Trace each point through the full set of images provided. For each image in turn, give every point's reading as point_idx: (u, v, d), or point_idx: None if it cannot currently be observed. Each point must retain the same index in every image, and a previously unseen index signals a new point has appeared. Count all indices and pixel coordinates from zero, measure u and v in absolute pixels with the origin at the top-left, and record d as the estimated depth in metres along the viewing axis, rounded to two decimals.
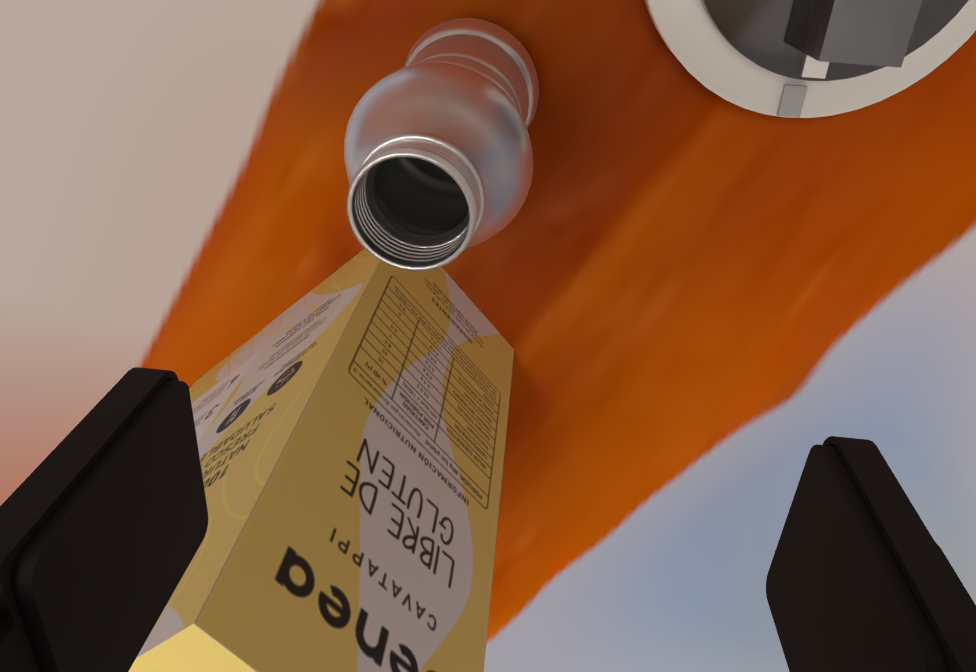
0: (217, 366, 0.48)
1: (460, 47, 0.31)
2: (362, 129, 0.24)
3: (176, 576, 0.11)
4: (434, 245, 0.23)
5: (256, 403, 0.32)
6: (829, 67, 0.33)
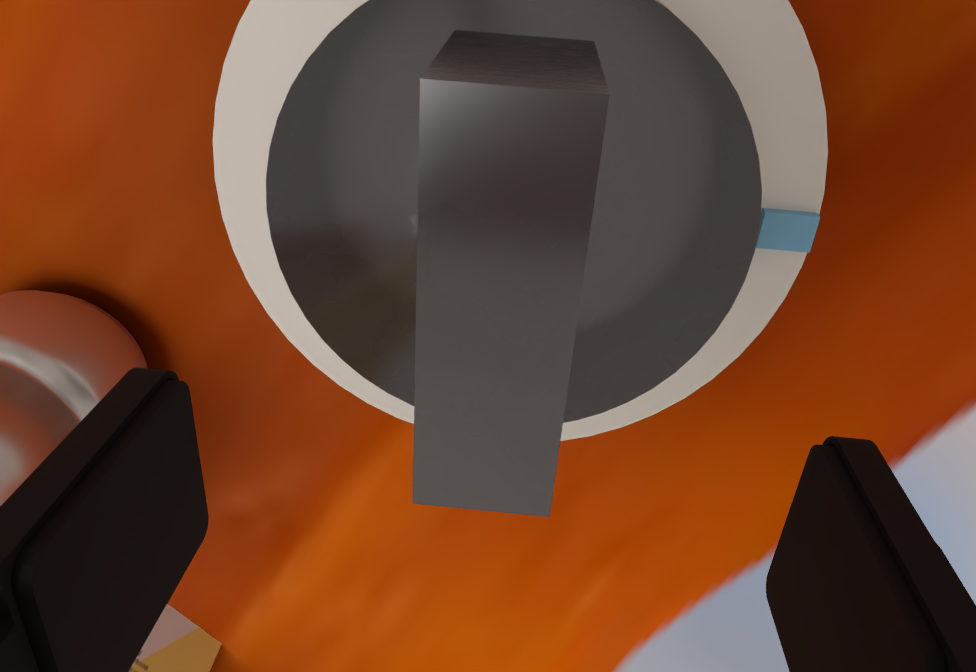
0: None
1: None
2: None
3: (176, 576, 0.11)
4: None
5: None
6: None
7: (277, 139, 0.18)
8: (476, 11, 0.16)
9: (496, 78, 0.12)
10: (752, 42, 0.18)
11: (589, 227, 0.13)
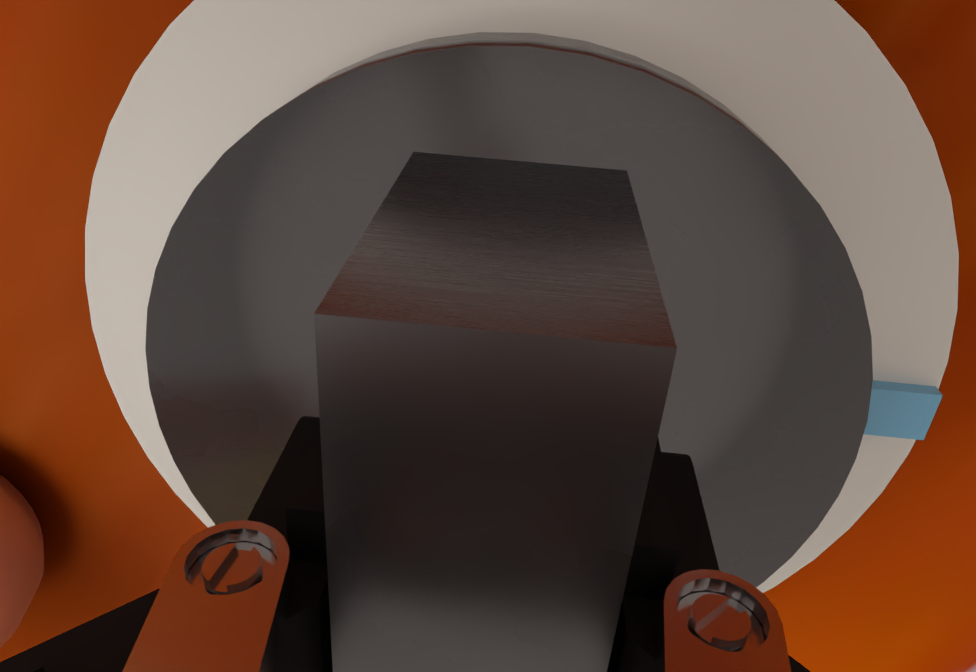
0: None
1: None
2: None
3: None
4: None
5: None
6: None
7: (158, 297, 0.12)
8: (445, 125, 0.10)
9: (462, 302, 0.07)
10: (856, 160, 0.12)
11: (631, 550, 0.07)
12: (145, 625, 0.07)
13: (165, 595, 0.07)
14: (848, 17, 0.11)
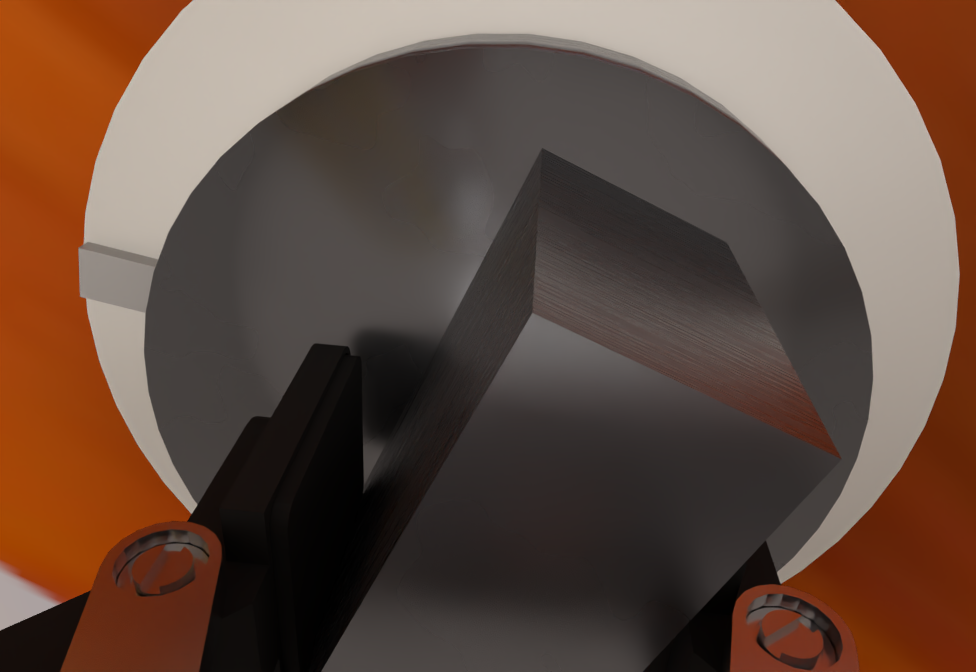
0: None
1: None
2: None
3: (347, 536, 0.12)
4: None
5: None
6: None
7: (208, 186, 0.11)
8: (584, 136, 0.10)
9: (653, 345, 0.07)
10: None
11: (693, 614, 0.08)
12: (74, 634, 0.07)
13: (95, 602, 0.07)
14: None
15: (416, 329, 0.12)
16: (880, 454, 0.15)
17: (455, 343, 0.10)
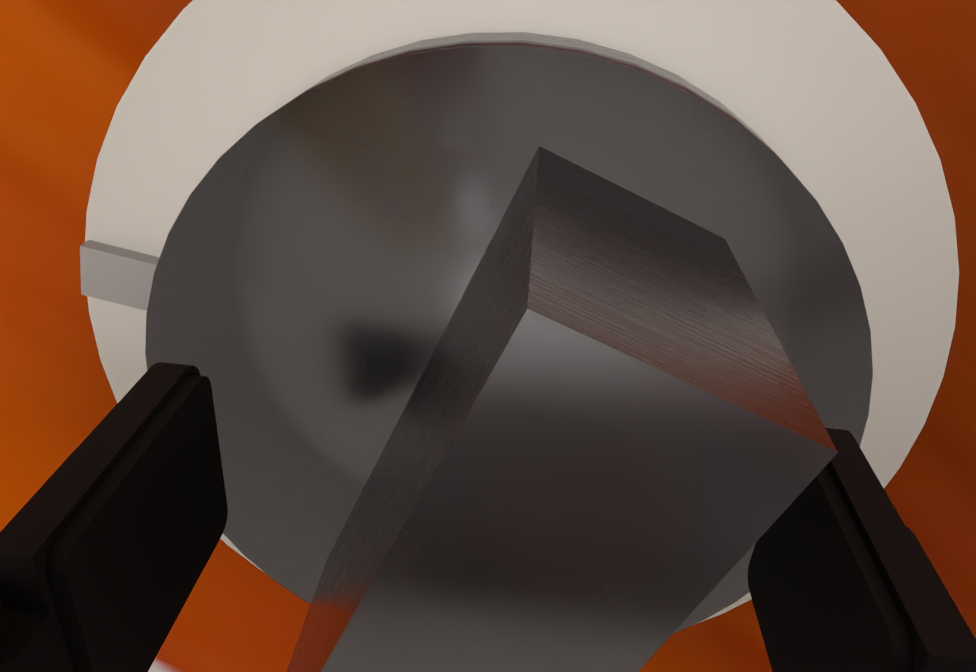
0: None
1: None
2: None
3: (198, 568, 0.11)
4: None
5: None
6: None
7: (207, 187, 0.11)
8: (581, 134, 0.10)
9: (649, 340, 0.07)
10: None
11: (691, 609, 0.08)
12: None
13: None
14: (734, 606, 0.17)
15: (416, 327, 0.12)
16: (879, 453, 0.15)
17: (454, 341, 0.10)
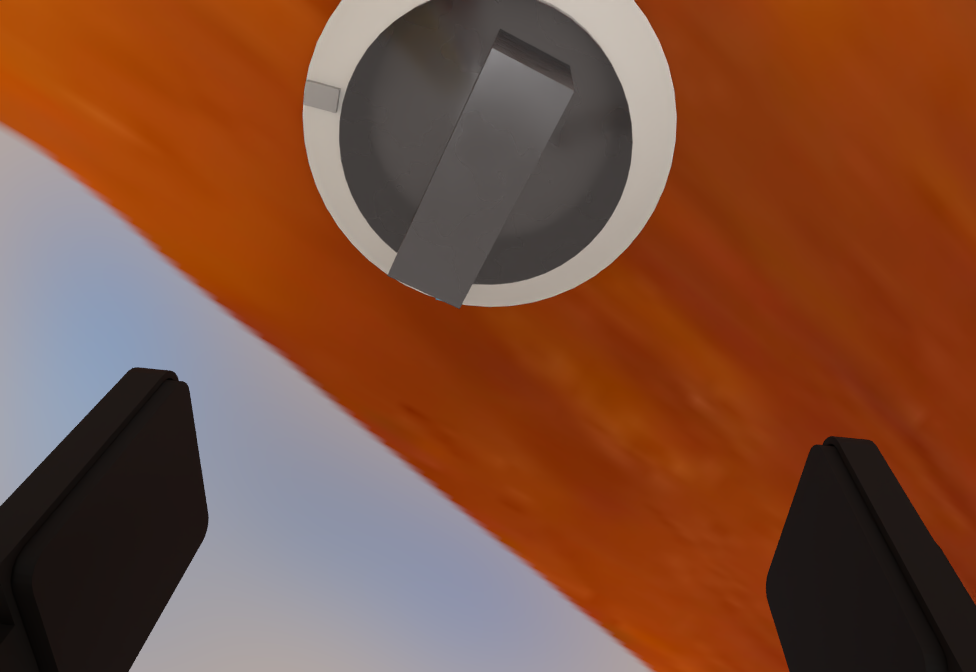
0: None
1: None
2: None
3: (176, 576, 0.11)
4: None
5: None
6: None
7: (374, 46, 0.29)
8: (515, 23, 0.28)
9: (525, 62, 0.25)
10: (551, 274, 0.35)
11: (541, 151, 0.26)
12: None
13: None
14: (598, 272, 0.35)
15: (452, 106, 0.30)
16: (654, 181, 0.33)
17: (469, 96, 0.28)
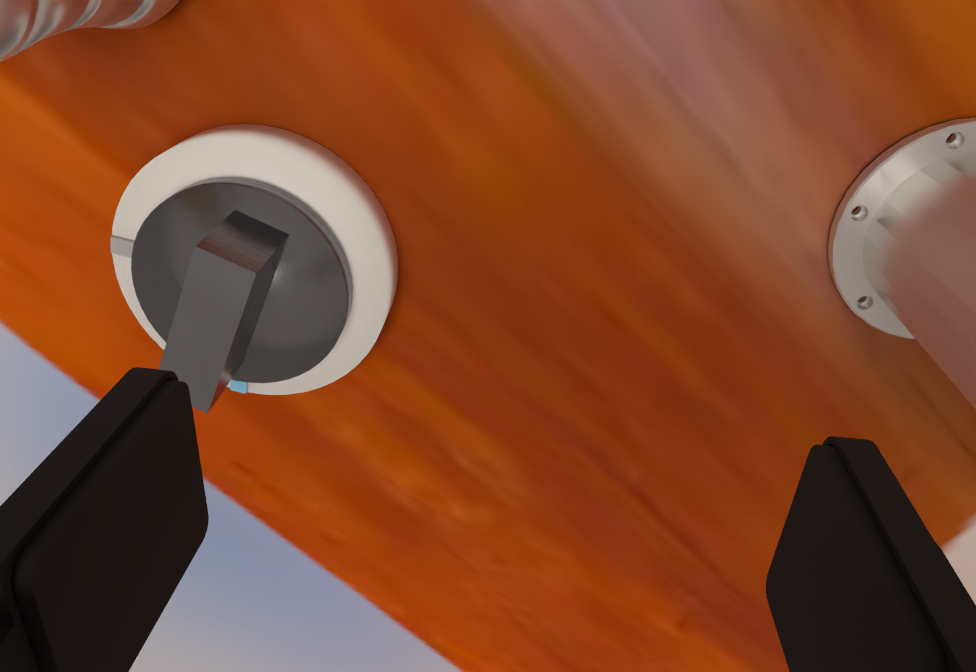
0: None
1: None
2: None
3: (176, 576, 0.11)
4: None
5: None
6: None
7: (147, 220, 0.40)
8: (245, 206, 0.39)
9: (223, 253, 0.35)
10: (315, 372, 0.46)
11: (242, 311, 0.36)
12: None
13: None
14: (349, 370, 0.46)
15: None
16: (378, 306, 0.43)
17: None
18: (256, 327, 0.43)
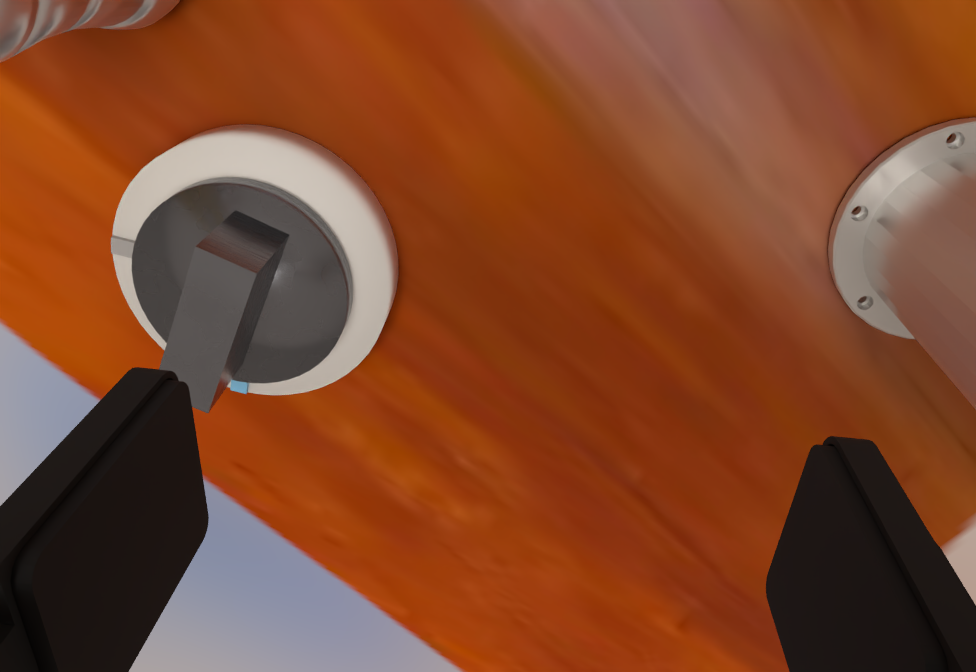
0: None
1: None
2: None
3: (176, 576, 0.11)
4: None
5: None
6: None
7: (148, 220, 0.40)
8: (245, 207, 0.39)
9: (223, 253, 0.36)
10: (315, 372, 0.46)
11: (243, 311, 0.36)
12: None
13: None
14: (350, 370, 0.46)
15: None
16: (378, 307, 0.43)
17: None
18: (256, 327, 0.43)
